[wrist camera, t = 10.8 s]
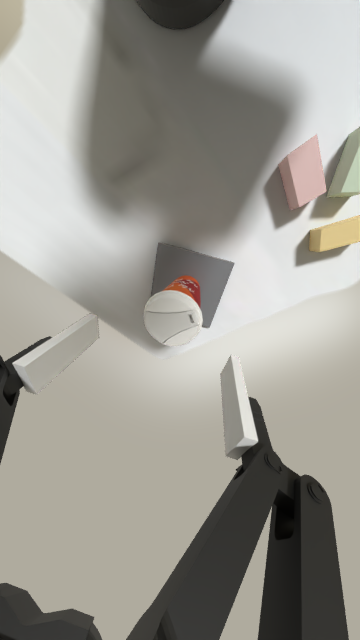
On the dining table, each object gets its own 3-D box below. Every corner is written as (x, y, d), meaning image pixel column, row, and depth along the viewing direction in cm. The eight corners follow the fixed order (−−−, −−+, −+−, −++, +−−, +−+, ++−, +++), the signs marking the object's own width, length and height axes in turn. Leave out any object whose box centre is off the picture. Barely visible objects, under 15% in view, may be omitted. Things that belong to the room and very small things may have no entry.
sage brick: (347, 135, 19) (369, 119, 16) (376, 133, 18) (404, 115, 16) (325, 197, 21) (340, 192, 19) (349, 196, 21) (369, 191, 18)
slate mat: (159, 242, 28) (158, 242, 27) (233, 262, 27) (234, 263, 27) (150, 308, 35) (149, 310, 34) (209, 325, 34) (209, 327, 34)
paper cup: (198, 263, 28) (189, 284, 16) (210, 301, 31) (209, 343, 19) (160, 277, 30) (127, 304, 18) (175, 311, 33) (154, 353, 21)
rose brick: (277, 165, 21) (287, 155, 18) (302, 147, 20) (316, 134, 17) (289, 210, 23) (299, 207, 20) (312, 196, 22) (326, 191, 19)
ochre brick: (308, 250, 25) (319, 252, 22) (309, 230, 23) (321, 229, 21) (355, 237, 23) (373, 238, 20) (359, 215, 22) (379, 212, 19)
